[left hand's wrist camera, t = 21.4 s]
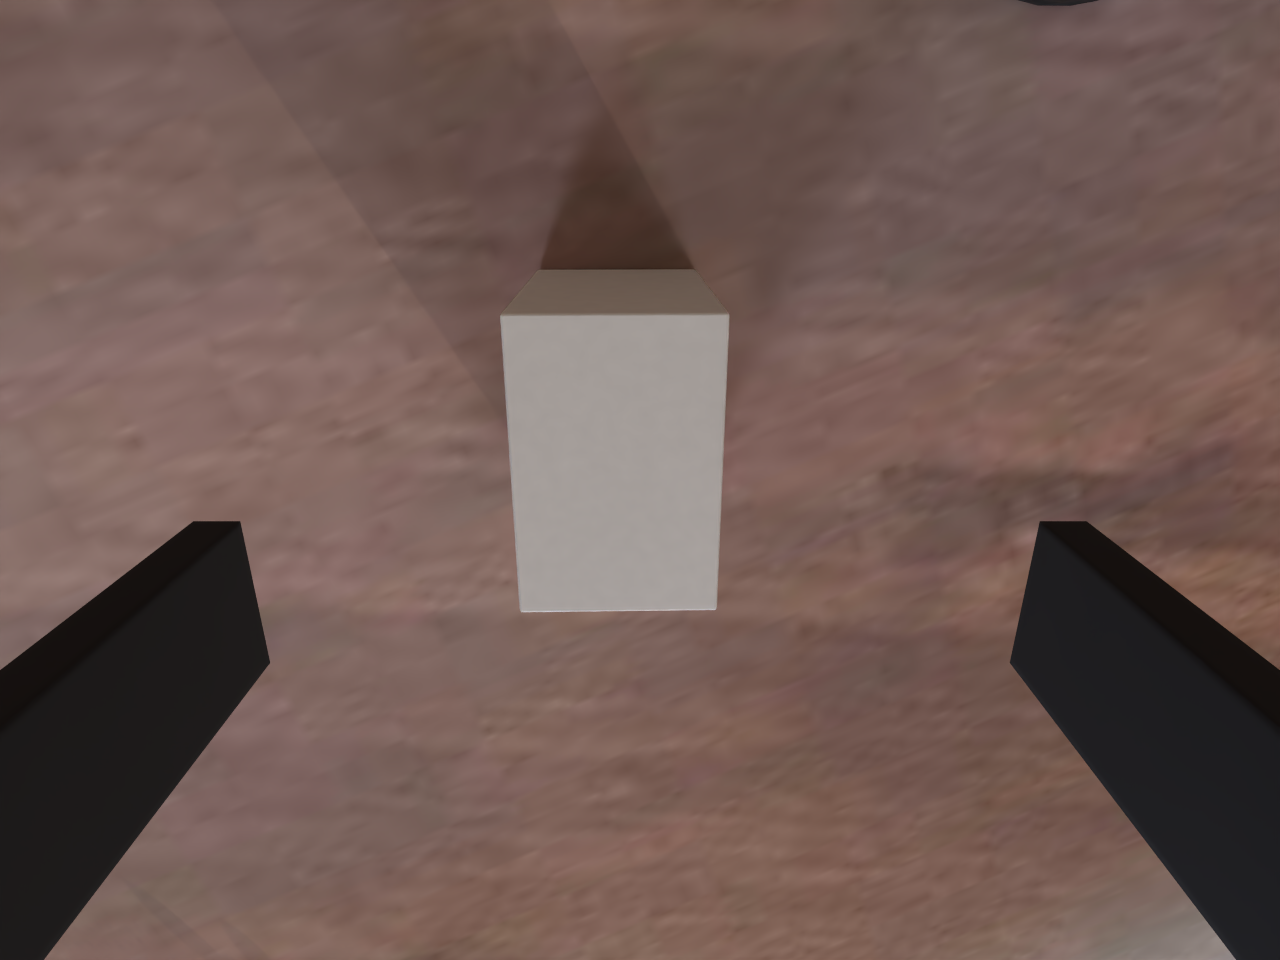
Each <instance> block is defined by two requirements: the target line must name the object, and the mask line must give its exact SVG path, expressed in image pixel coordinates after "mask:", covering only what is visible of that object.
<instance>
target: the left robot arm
mask: <svg viewBox="0 0 1280 960" xmlns="http://www.w3.org/2000/svg"><path fill="white" fill-rule="evenodd" d="M269 664H270V660H269V655H268V651H267V646H266V641H265V636H264V632H263V627H262V622H261V618H260V613H259V608H258V603H257V599H256V594H255V589H254V584H253V580H252V575H251V570H250V566H249V561H248V556H247V551H246V547H245V542H244V537H243V533H242V528H241V523H240V521H193V522H192V523H191V524H189V525H188V526H187V527H186V528H184V529H183V530H182V531H180V532H179V533H178V534H176V535H175V536H174V537H173V538H171V539H170V540H169V541H167V542H166V543H165V544H163V545H162V546H161V547H160V548H158V549H157V550H156V551H154V552H153V553H152V554H150V555H149V556H148V557H147V558H145V559H144V560H143V561H141V562H140V563H139V564H138V565H136V566H135V567H134V568H132V569H131V570H130V571H128V572H127V573H126V574H125V575H123V576H122V577H121V578H119V579H118V580H117V581H115V582H114V583H113V584H112V585H110V586H109V587H108V588H106V589H105V590H104V591H102V592H101V593H100V594H99V595H97V596H96V597H95V598H93V599H92V600H91V601H89V602H88V603H87V604H86V605H84V606H83V607H82V608H80V609H79V610H78V611H77V612H75V613H74V614H73V615H71V616H70V617H69V618H67V619H66V620H65V621H64V622H62V623H61V624H60V625H58V626H57V627H56V628H54V629H53V630H52V631H51V632H49V633H48V634H47V635H45V636H44V637H43V638H41V639H40V640H39V641H38V642H36V643H35V644H34V645H32V646H31V647H30V648H28V649H27V650H26V651H25V652H23V653H22V654H21V655H19V656H18V657H17V658H15V659H14V660H13V661H12V662H10V663H9V664H8V665H6V666H5V667H4V668H3V669H1V670H0V960H44V959H45V958H46V956H47V955H48V954H49V952H50V951H51V950H52V948H53V947H54V946H55V944H56V943H57V942H58V940H59V939H60V938H61V937H62V935H63V934H64V933H65V931H66V930H67V929H68V927H69V926H70V925H71V923H72V922H73V921H74V919H75V918H76V917H77V916H78V914H79V913H80V912H81V910H82V909H83V908H84V906H85V905H86V904H87V902H88V901H89V900H90V898H91V897H92V896H93V895H94V893H95V892H96V891H97V889H98V888H99V887H100V885H101V884H102V883H103V881H104V880H105V879H106V877H107V876H108V875H109V874H110V872H111V871H112V870H113V868H114V867H115V866H116V864H117V863H118V862H119V860H120V859H121V858H122V856H123V855H124V854H125V853H126V851H127V850H128V849H129V847H130V846H131V845H132V843H133V842H134V841H135V839H136V838H137V837H138V835H139V834H140V833H141V832H142V830H143V829H144V828H145V826H146V825H147V824H148V822H149V821H150V820H151V818H152V817H153V816H154V814H155V813H156V812H157V811H158V809H159V808H160V807H161V805H162V804H163V803H164V801H165V800H166V799H167V797H168V796H169V795H170V793H171V792H172V791H173V790H174V788H175V787H176V786H177V784H178V783H179V782H180V780H181V779H182V778H183V776H184V775H185V774H186V772H187V771H188V770H189V769H190V767H191V766H192V765H193V763H194V762H195V761H196V759H197V758H198V757H199V755H200V754H201V753H202V751H203V750H204V749H205V748H206V746H207V745H208V744H209V742H210V741H211V740H212V738H213V737H214V736H215V734H216V733H217V732H218V730H219V729H220V728H221V727H222V725H223V724H224V723H225V721H226V720H227V719H228V717H229V716H230V715H231V713H232V712H233V711H234V709H235V708H236V707H237V706H238V704H239V703H240V702H241V700H242V699H243V698H244V696H245V695H246V694H247V692H248V691H249V690H250V688H251V687H252V686H253V685H254V683H255V682H256V681H257V679H258V678H259V677H260V675H261V674H262V673H263V671H264V670H265V669H266V668H267V666H268V665H269ZM1010 664H1011V665H1012V666H1013V667H1014V669H1015V670H1016V671H1017V673H1018V674H1019V675H1020V677H1021V678H1022V679H1023V681H1024V682H1025V683H1026V685H1027V686H1028V687H1029V688H1030V690H1031V691H1032V692H1033V694H1034V695H1035V696H1036V698H1037V699H1038V700H1039V702H1040V703H1041V704H1042V706H1043V707H1044V708H1045V709H1046V711H1047V712H1048V713H1049V715H1050V716H1051V717H1052V719H1053V720H1054V721H1055V723H1056V724H1057V725H1058V727H1059V728H1060V729H1061V730H1062V732H1063V733H1064V734H1065V736H1066V737H1067V738H1068V740H1069V741H1070V742H1071V744H1072V745H1073V746H1074V748H1075V749H1076V750H1077V751H1078V753H1079V754H1080V755H1081V757H1082V758H1083V759H1084V761H1085V762H1086V763H1087V765H1088V766H1089V767H1090V769H1091V770H1092V771H1093V772H1094V774H1095V775H1096V776H1097V778H1098V779H1099V780H1100V782H1101V783H1102V784H1103V786H1104V787H1105V788H1106V790H1107V791H1108V792H1109V793H1110V795H1111V796H1112V797H1113V799H1114V800H1115V801H1116V803H1117V804H1118V805H1119V807H1120V808H1121V809H1122V811H1123V812H1124V813H1125V814H1126V816H1127V817H1128V818H1129V820H1130V821H1131V822H1132V824H1133V825H1134V826H1135V828H1136V829H1137V830H1138V832H1139V833H1140V834H1141V835H1142V837H1143V838H1144V839H1145V841H1146V842H1147V843H1148V845H1149V846H1150V847H1151V849H1152V850H1153V851H1154V853H1155V854H1156V855H1157V856H1158V858H1159V859H1160V860H1161V862H1162V863H1163V864H1164V866H1165V867H1166V868H1167V870H1168V871H1169V872H1170V874H1171V875H1172V876H1173V877H1174V879H1175V880H1176V881H1177V883H1178V884H1179V885H1180V887H1181V888H1182V889H1183V891H1184V892H1185V893H1186V895H1187V896H1188V897H1189V898H1190V900H1191V901H1192V902H1193V904H1194V905H1195V906H1196V908H1197V909H1198V910H1199V912H1200V913H1201V914H1202V916H1203V917H1204V918H1205V919H1206V921H1207V922H1208V923H1209V925H1210V926H1211V927H1212V929H1213V930H1214V931H1215V933H1216V934H1217V935H1218V937H1219V938H1220V939H1221V940H1222V942H1223V943H1224V944H1225V946H1226V947H1227V948H1228V950H1229V951H1230V952H1231V954H1232V955H1233V956H1234V958H1235V959H1236V960H1280V670H1279V669H1277V668H1276V667H1275V666H1274V665H1272V664H1271V663H1270V662H1268V661H1267V660H1266V659H1265V658H1263V657H1262V656H1261V655H1259V654H1258V653H1257V652H1255V651H1254V650H1253V649H1252V648H1250V647H1249V646H1248V645H1246V644H1245V643H1244V642H1242V641H1241V640H1240V639H1239V638H1237V637H1236V636H1235V635H1233V634H1232V633H1231V632H1229V631H1228V630H1227V629H1226V628H1224V627H1223V626H1222V625H1220V624H1219V623H1218V622H1216V621H1215V620H1214V619H1213V618H1211V617H1210V616H1209V615H1207V614H1206V613H1205V612H1203V611H1202V610H1201V609H1200V608H1198V607H1197V606H1196V605H1194V604H1193V603H1192V602H1191V601H1189V600H1188V599H1187V598H1185V597H1184V596H1183V595H1181V594H1180V593H1179V592H1178V591H1176V590H1175V589H1174V588H1172V587H1171V586H1170V585H1168V584H1167V583H1166V582H1165V581H1163V580H1162V579H1161V578H1159V577H1158V576H1157V575H1155V574H1154V573H1153V572H1152V571H1150V570H1149V569H1148V568H1146V567H1145V566H1144V565H1142V564H1141V563H1140V562H1139V561H1137V560H1136V559H1135V558H1133V557H1132V556H1131V555H1130V554H1128V553H1127V552H1126V551H1124V550H1123V549H1122V548H1120V547H1119V546H1118V545H1117V544H1115V543H1114V542H1113V541H1111V540H1110V539H1109V538H1107V537H1106V536H1105V535H1104V534H1102V533H1101V532H1100V531H1098V530H1097V529H1096V528H1094V527H1093V526H1092V525H1091V524H1089V523H1088V522H1087V521H1040V523H1039V528H1038V533H1037V537H1036V542H1035V547H1034V551H1033V556H1032V561H1031V566H1030V570H1029V575H1028V580H1027V584H1026V589H1025V594H1024V599H1023V603H1022V608H1021V613H1020V618H1019V622H1018V627H1017V632H1016V636H1015V641H1014V646H1013V651H1012V655H1011V660H1010Z"/></svg>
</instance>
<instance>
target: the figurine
mask: <svg viewBox="0 0 1280 960" xmlns="http://www.w3.org/2000/svg"><path fill="white" fill-rule="evenodd" d="M1020 1H1023V2H1027V3H1031V4H1035V5H1060V6H1071V5H1076V4H1081V3H1086V2H1093V1H1097V0H1020Z"/></svg>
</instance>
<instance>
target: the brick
mask: <svg viewBox="0 0 1280 960" xmlns="http://www.w3.org/2000/svg"><path fill="white" fill-rule="evenodd" d="M500 322H501V337H502V352H503V367H504V382H505V397H506V411H507V426H508V441H509V456H510V471H511V486H512V500H513V515H514V530H515V545H516V560H517V575H518V590H519V604H520V611H521V612H569V611H652V610H715V609H716V608H717V588H718V565H719V542H720V520H721V497H722V474H723V452H724V429H725V406H726V383H727V361H728V338H729V313H728V311H727V310H726V309H725V308H724V306H723V305H722V304H721V302H720V301H719V300H718V298H717V297H716V296H715V295H714V293H713V292H712V291H711V289H710V288H709V287H708V285H707V284H706V283H705V282H704V280H703V279H702V278H701V276H700V275H699V274H698V272H697V271H696V270H695V269H629V270H538V271H537V272H536V273H535V274H534V275H533V276H532V278H531V279H530V280H529V281H528V282H527V284H526V285H525V286H524V287H523V288H522V289H521V291H520V292H519V293H518V294H517V295H516V296H515V298H514V299H513V300H512V301H511V302H510V304H509V305H508V306H507V307H506V308H505V309H504V311H503V312H502V313H501V315H500Z"/></svg>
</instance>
